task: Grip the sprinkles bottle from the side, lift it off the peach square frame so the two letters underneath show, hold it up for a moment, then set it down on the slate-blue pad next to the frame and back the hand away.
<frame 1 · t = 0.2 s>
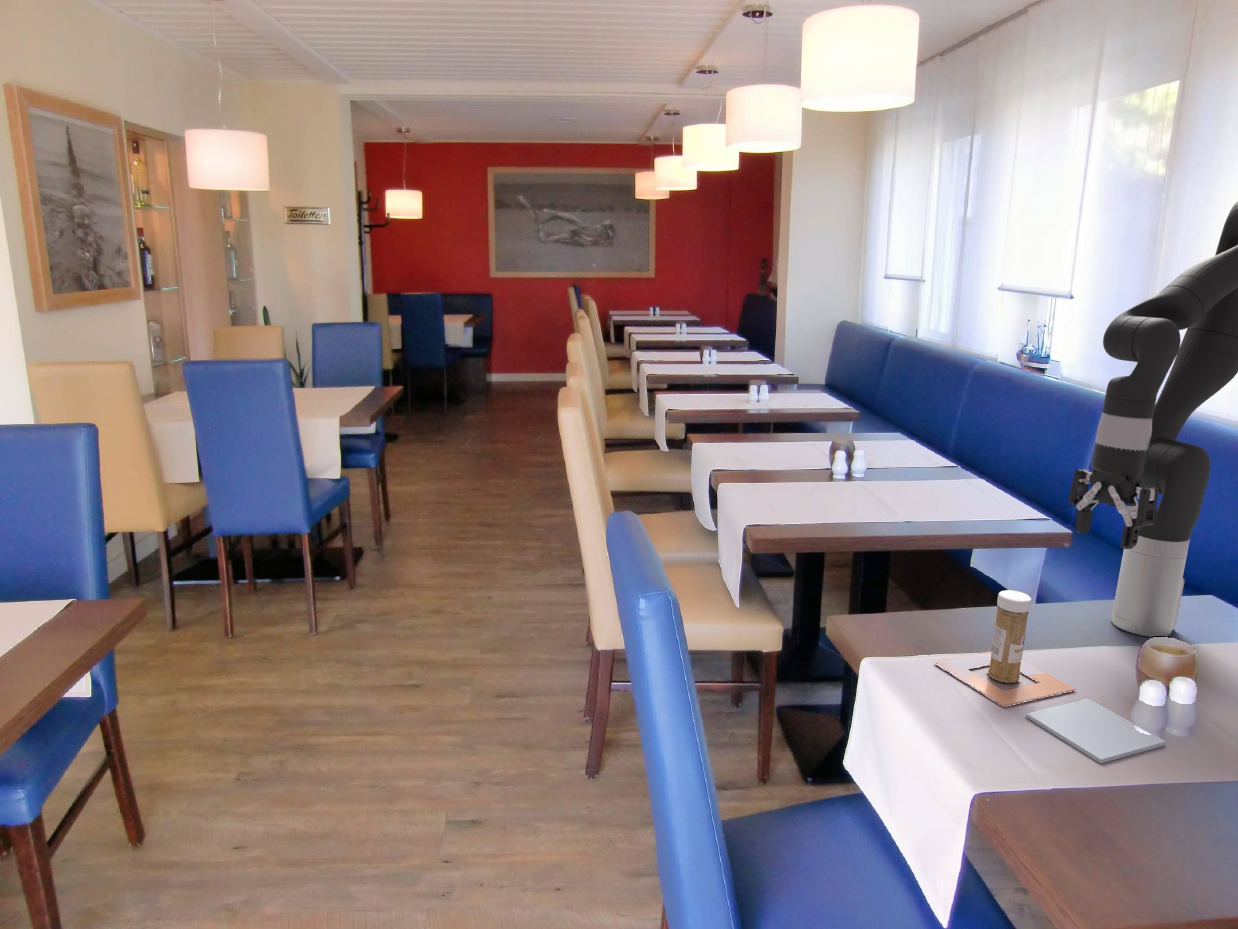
hand: (1104, 540, 144), 18 cm above the table, tool pointing down, fingers open, 8 cm apart
sprinkles bottle: (1002, 678, 135), on the table, touching peach square frame
peach square frame: (1002, 677, 135), on the table
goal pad: (1093, 731, 120), on the table
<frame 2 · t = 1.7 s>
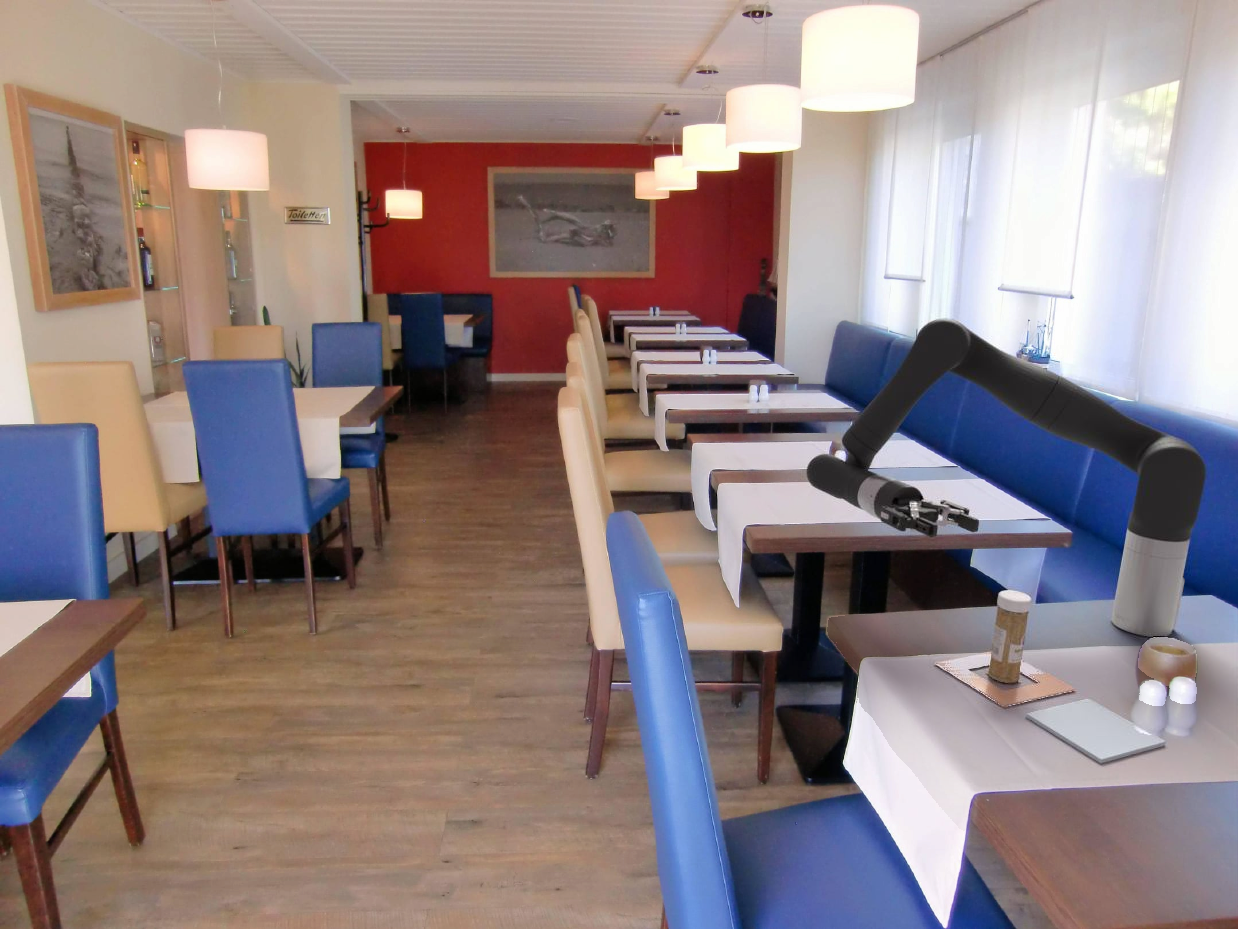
hand: (956, 528, 141), 20 cm above the table, tool horizontal, fingers open, 8 cm apart
nothing on the table moved.
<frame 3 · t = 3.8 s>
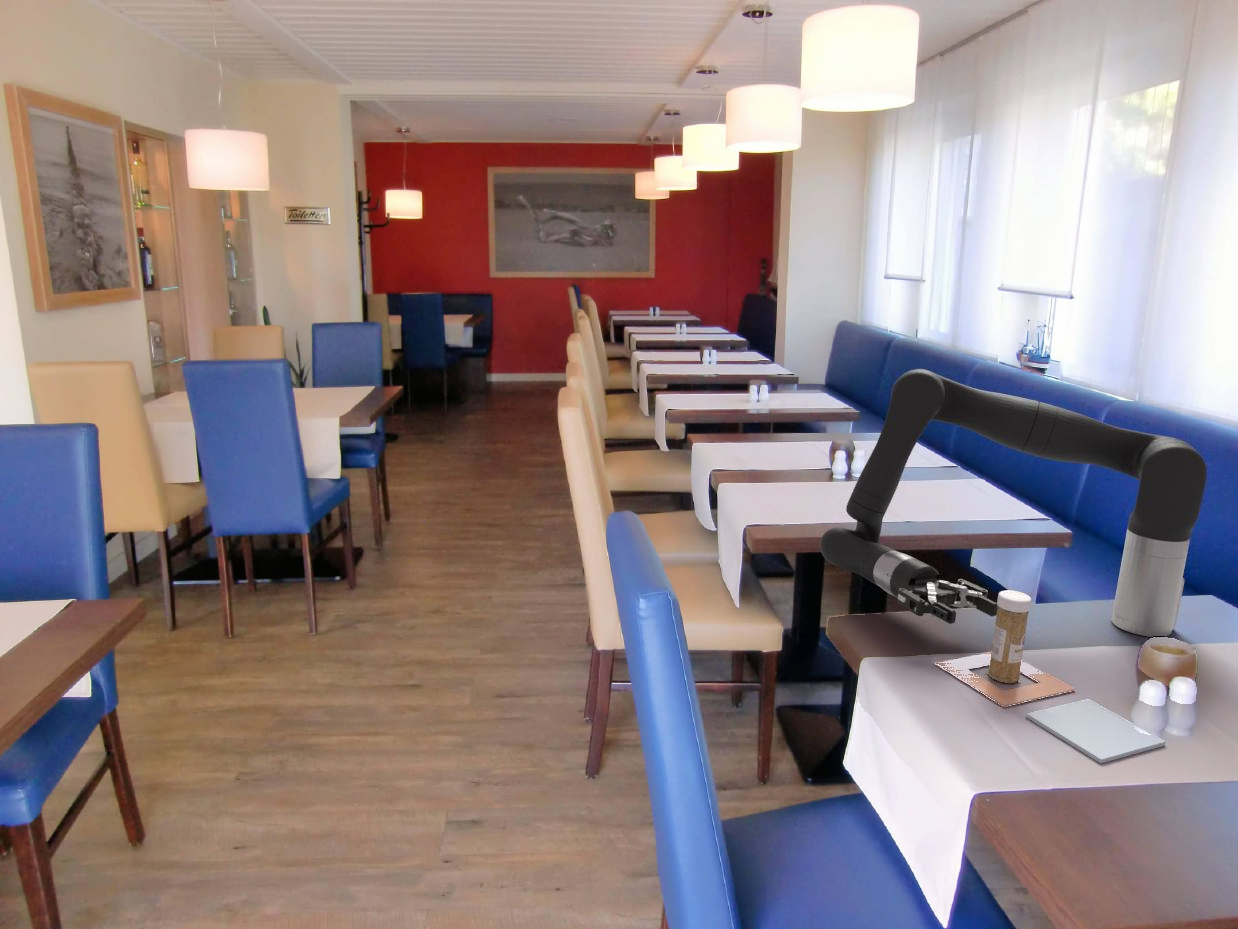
hand: (975, 614, 139), 7 cm above the table, tool horizontal, fingers open, 8 cm apart
nothing on the table moved.
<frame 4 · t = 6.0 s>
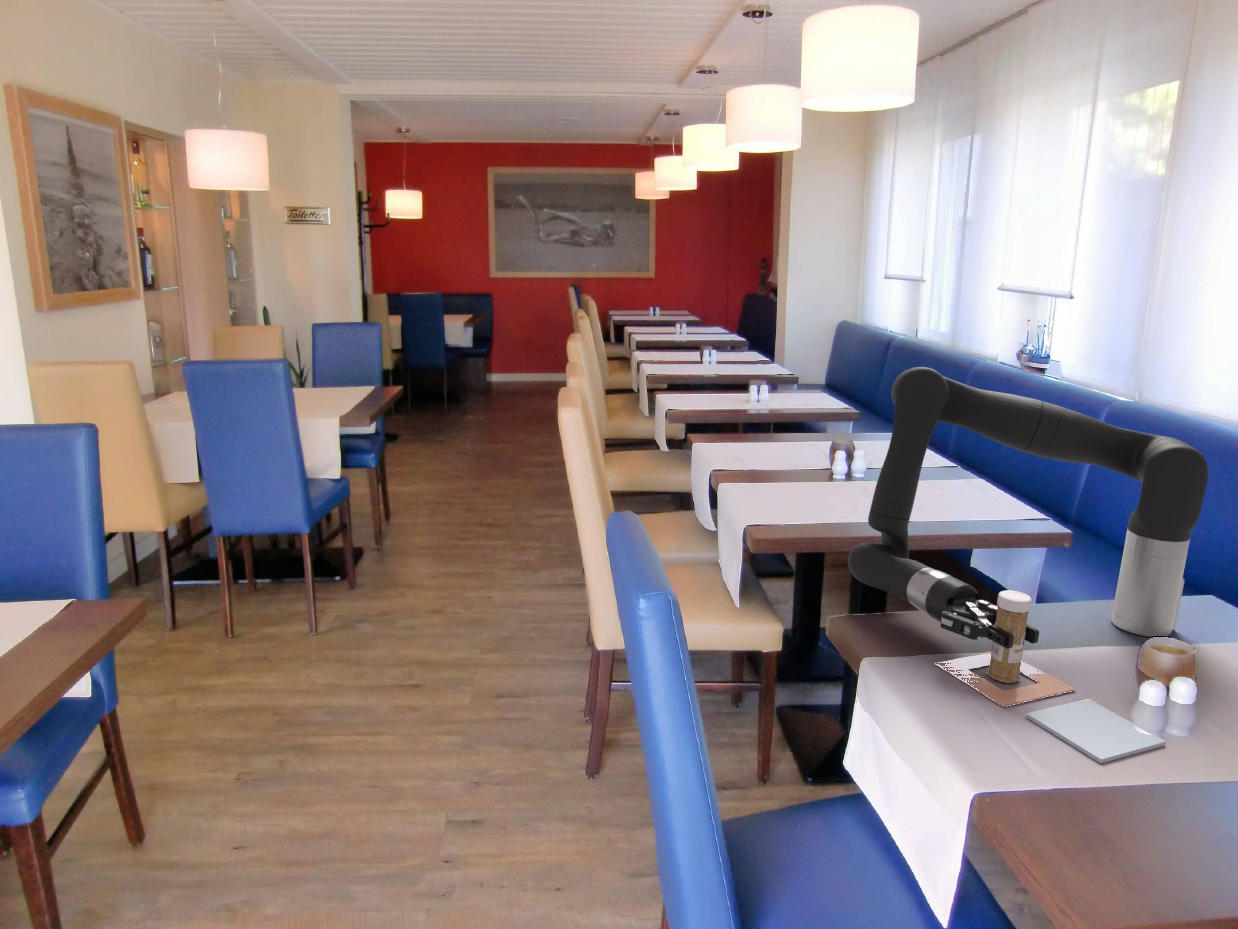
hand: (1023, 639, 130), 8 cm above the table, tool horizontal, fingers closed on sprinkles bottle, 4 cm apart
sprinkles bottle: (1002, 678, 135), on the table, touching peach square frame, gripper
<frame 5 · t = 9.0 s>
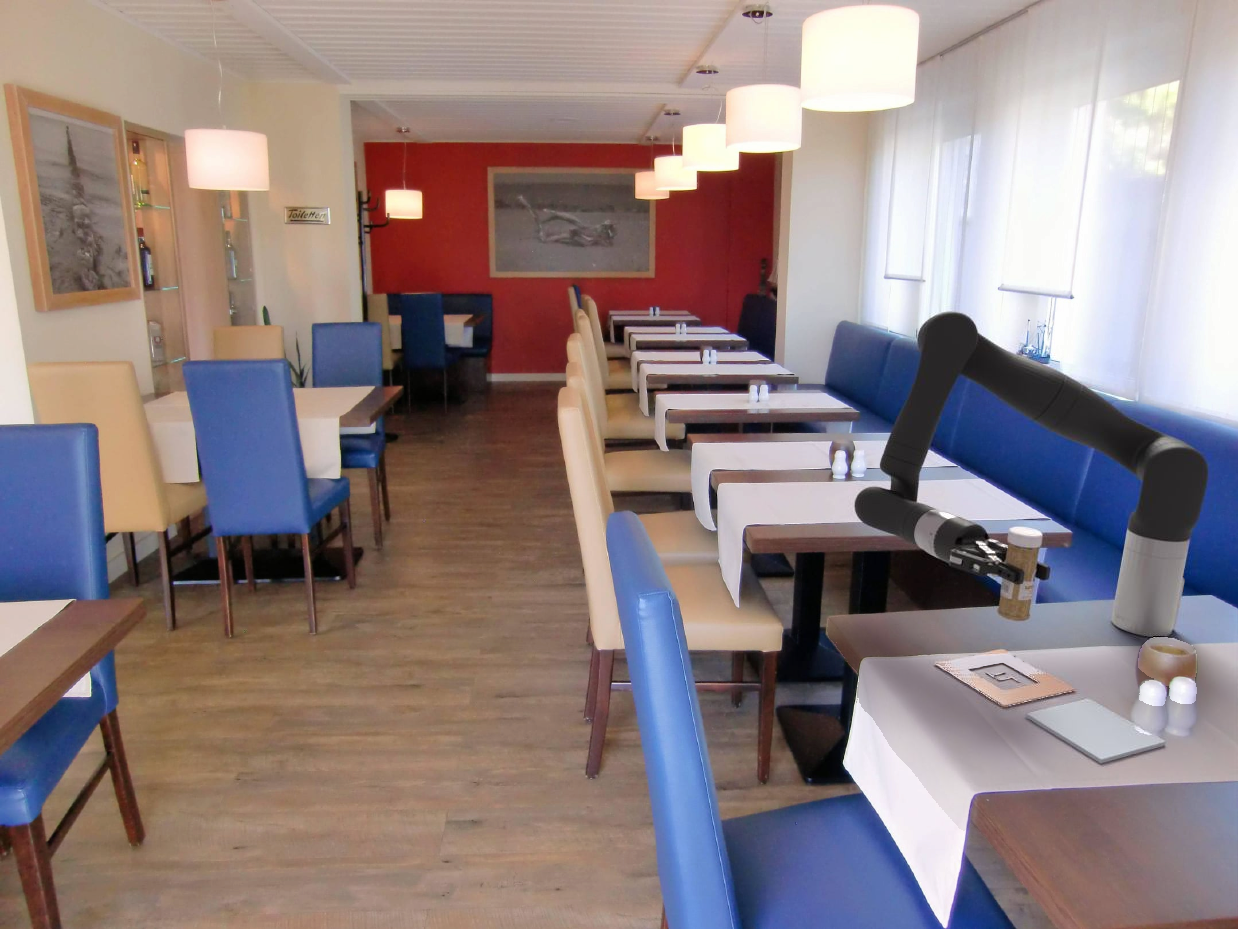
hand: (1034, 576, 128), 18 cm above the table, tool horizontal, fingers closed on sprinkles bottle, 4 cm apart
sprinkles bottle: (1012, 617, 132), point 10 cm above the table, touching gripper
when the fingers open (9 cm above the table, at t = 12.0 s): sprinkles bottle drops 1 cm, resting on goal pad.
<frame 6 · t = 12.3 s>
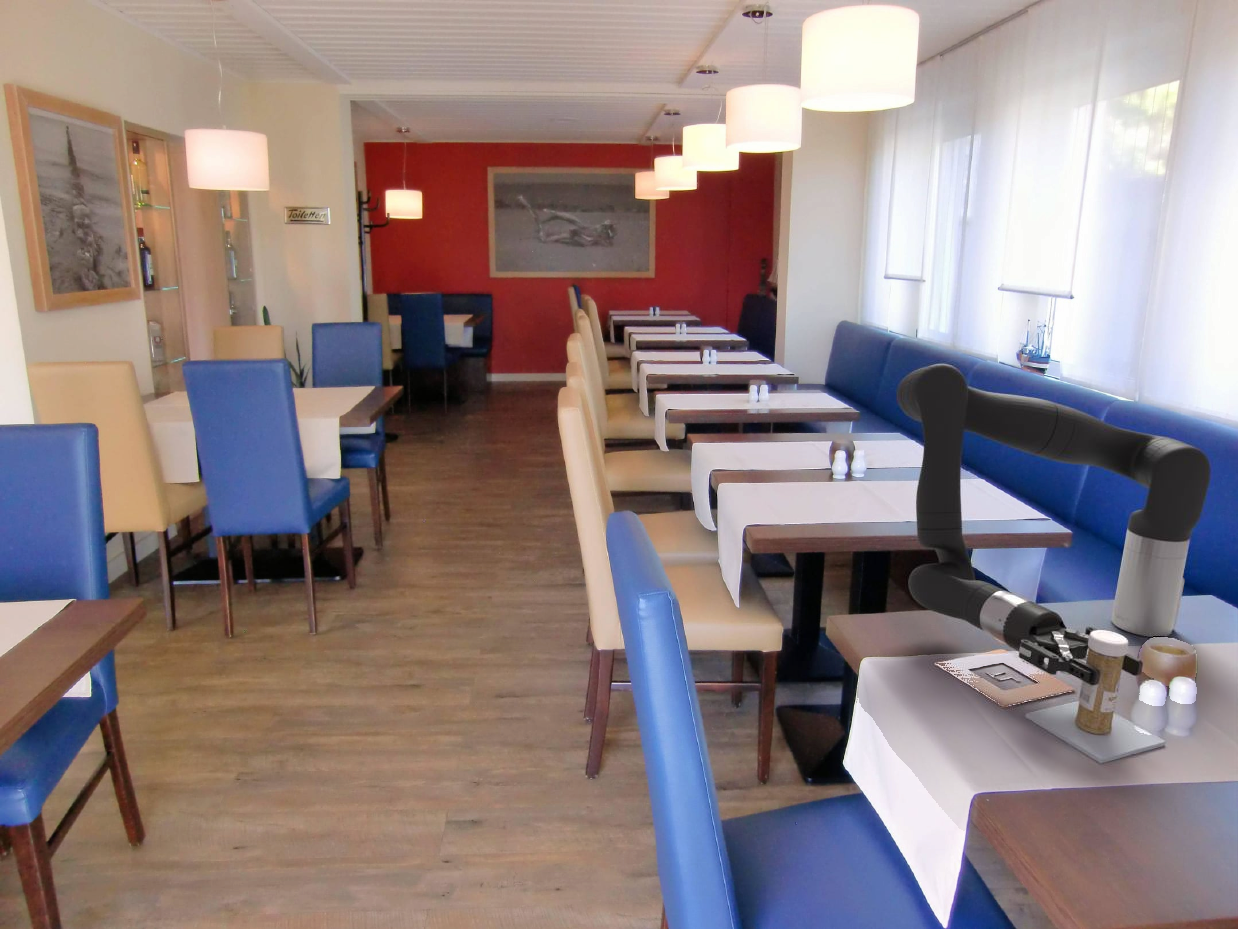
hand: (1119, 673, 116), 10 cm above the table, tool horizontal, fingers open, 7 cm apart
sprinkles bottle: (1092, 728, 120), resting on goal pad
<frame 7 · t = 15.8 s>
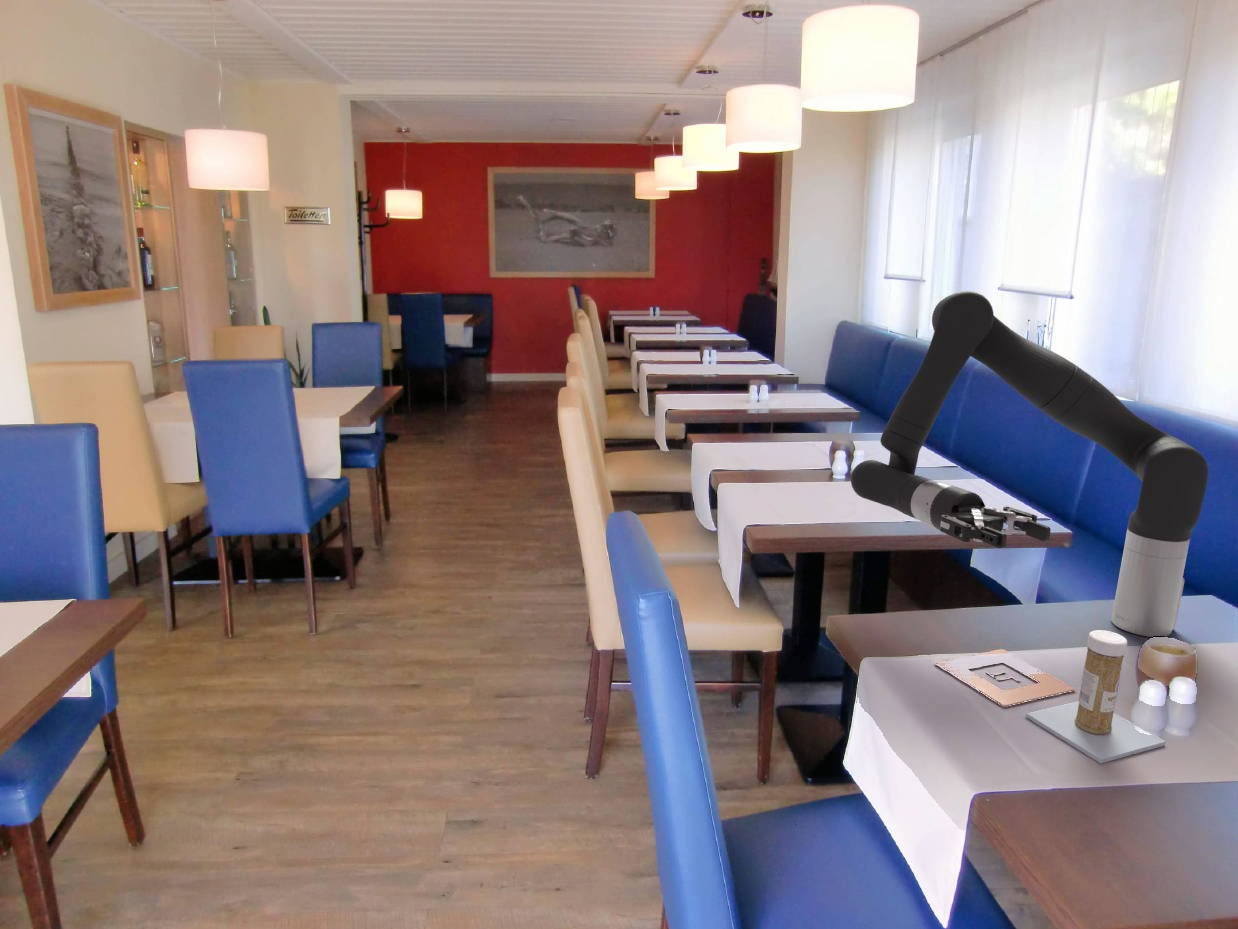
hand: (1026, 538, 129), 23 cm above the table, tool horizontal, fingers open, 8 cm apart
nothing on the table moved.
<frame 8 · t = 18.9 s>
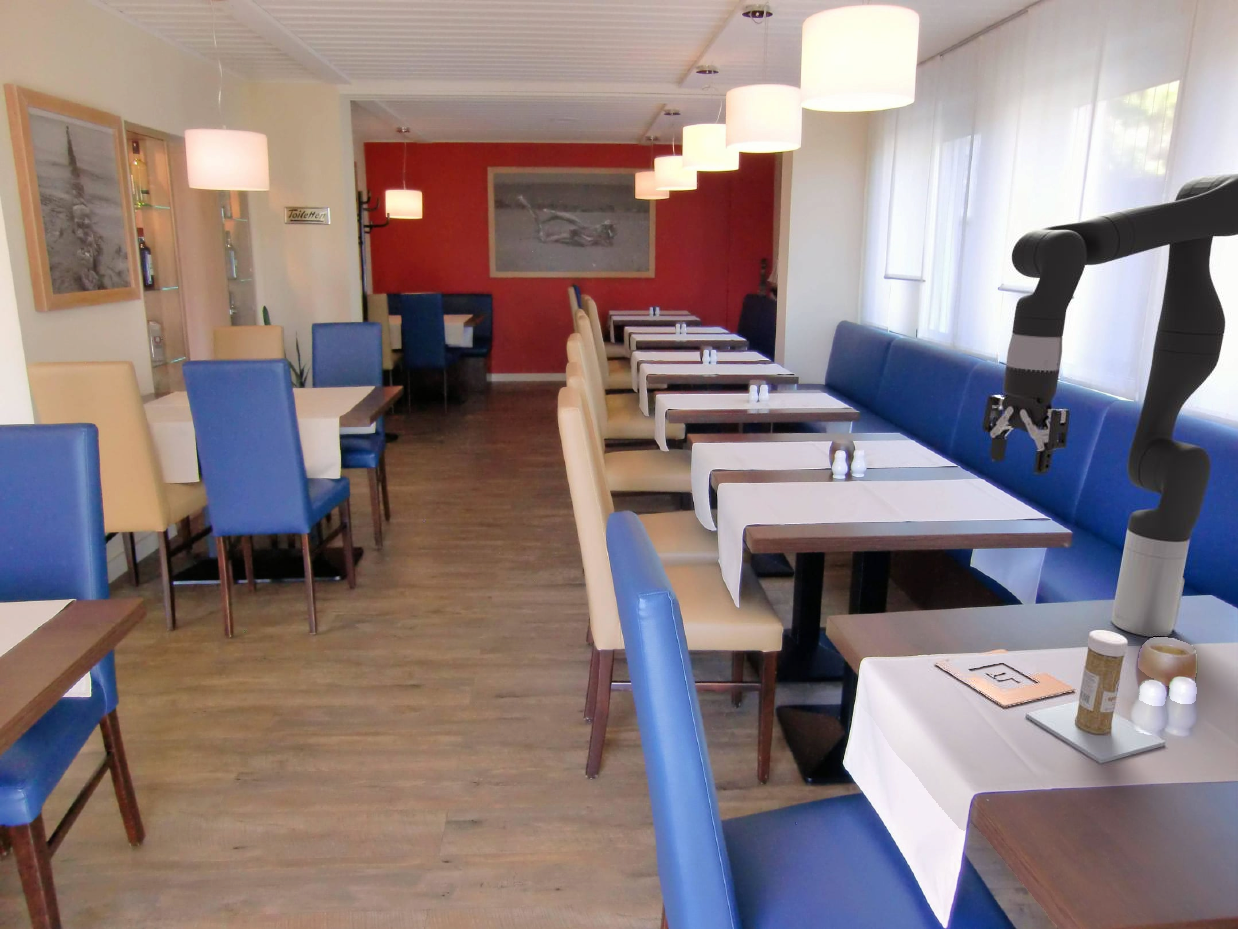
hand: (1018, 467, 139), 30 cm above the table, tool pointing down, fingers open, 8 cm apart
nothing on the table moved.
at the end: sprinkles bottle 0.2 cm off-centre on the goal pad, point 0.4 cm above the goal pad's base; sprinkles bottle tilted 0°; the gripper is holding nothing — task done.
